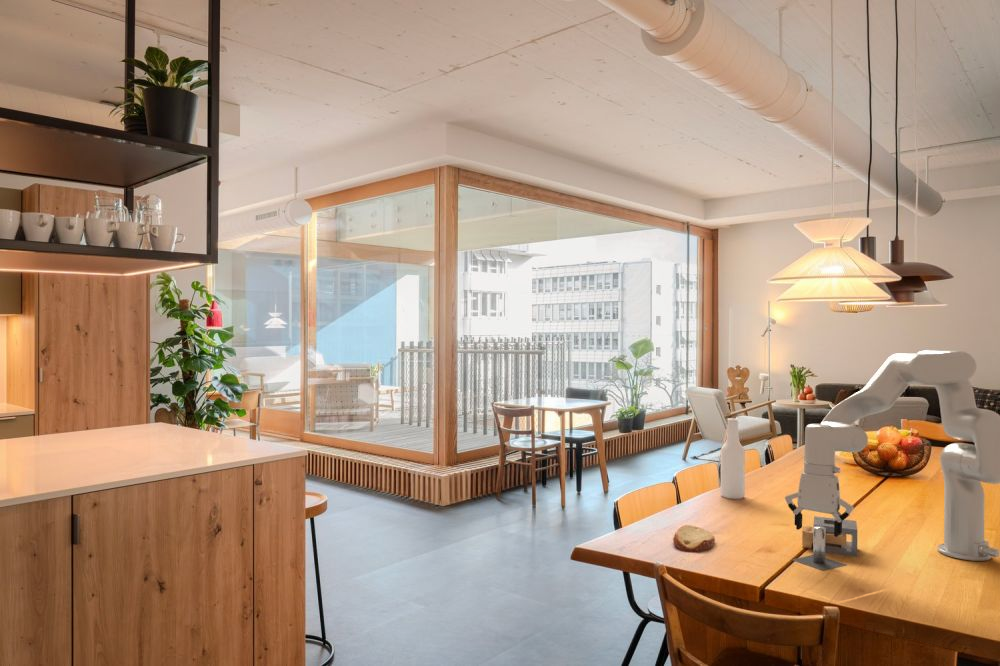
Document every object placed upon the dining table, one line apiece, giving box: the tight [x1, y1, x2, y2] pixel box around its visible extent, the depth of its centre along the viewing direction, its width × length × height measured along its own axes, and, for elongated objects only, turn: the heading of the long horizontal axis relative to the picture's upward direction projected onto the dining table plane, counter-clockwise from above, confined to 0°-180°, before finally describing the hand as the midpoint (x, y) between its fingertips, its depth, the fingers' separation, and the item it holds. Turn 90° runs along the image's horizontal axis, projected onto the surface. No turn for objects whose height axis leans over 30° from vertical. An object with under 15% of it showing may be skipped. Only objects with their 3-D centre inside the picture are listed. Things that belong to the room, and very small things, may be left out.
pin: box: [812, 525, 826, 564], centre depth 187 cm, size 3×3×10 cm
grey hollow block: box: [801, 515, 858, 558], centre depth 199 cm, size 14×10×8 cm
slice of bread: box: [672, 524, 716, 553], centre depth 207 cm, size 18×18×4 cm
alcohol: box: [720, 417, 746, 500], centre depth 263 cm, size 9×9×30 cm
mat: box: [791, 554, 847, 572], centre depth 187 cm, size 10×10×1 cm
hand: (817, 532), depth 187 cm, fingers open, 9 cm apart
